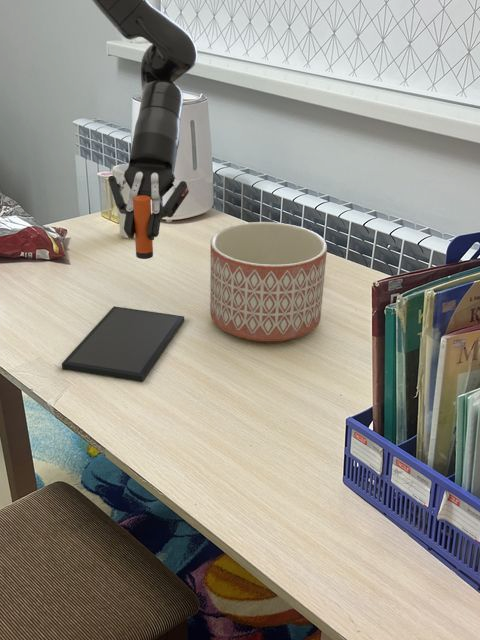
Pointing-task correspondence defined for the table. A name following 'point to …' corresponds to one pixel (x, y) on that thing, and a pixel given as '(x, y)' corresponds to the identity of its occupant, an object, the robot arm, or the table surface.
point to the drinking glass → (118, 172)
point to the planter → (267, 280)
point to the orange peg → (142, 226)
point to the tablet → (124, 344)
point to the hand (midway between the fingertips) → (140, 236)
